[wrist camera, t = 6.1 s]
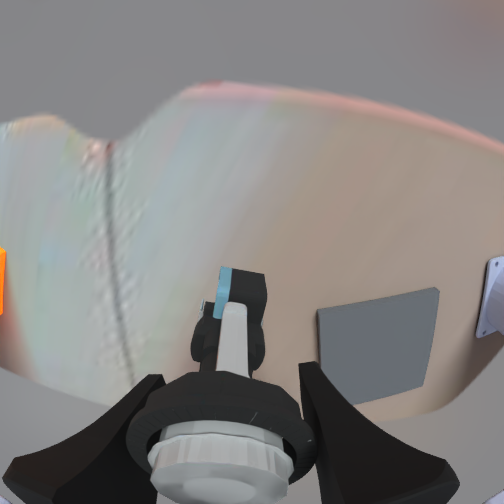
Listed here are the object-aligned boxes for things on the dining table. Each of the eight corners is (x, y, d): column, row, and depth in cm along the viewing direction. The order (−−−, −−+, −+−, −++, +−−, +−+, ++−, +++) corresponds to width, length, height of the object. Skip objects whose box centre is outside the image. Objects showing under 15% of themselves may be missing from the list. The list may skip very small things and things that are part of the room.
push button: (264, 373, 17) (278, 531, 7) (174, 358, 16) (133, 513, 7) (294, 270, 15) (360, 444, 5) (185, 250, 14) (102, 413, 5)
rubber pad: (434, 287, 20) (439, 291, 20) (419, 381, 23) (422, 385, 22) (317, 309, 21) (319, 314, 20) (320, 404, 24) (321, 410, 23)
